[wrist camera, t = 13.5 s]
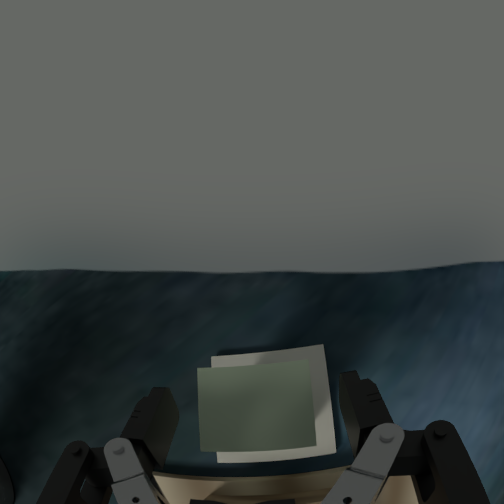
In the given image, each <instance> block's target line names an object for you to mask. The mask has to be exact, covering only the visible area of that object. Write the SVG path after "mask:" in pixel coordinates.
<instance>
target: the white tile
mask: <svg viewBox="0 0 504 504" xmlns="http://www.w3.org/2000/svg"><path fill="white" fill-rule="evenodd" d="M306 359H308V360H309V369H310V378H311V387H312V397H313V407H314V418H315V430H316V442H317V446H313V447H305V448H296V449H286V450H273V451H255V452H217V461H218V463H246V462H266V461H280V460H290V459H299V458H307V457H314V456H320V455H327V454H332V453H336V444H335V433H334V424H333V414H332V406H331V397H330V389H329V381H328V374H327V367H326V359H325V353H324V346H323V344H321V345H314V346H308V347H301V348H293V349H286V350H278V351H269V352H260V353H250V354H239V355H226V356H212V357H211V365H212V368H214V367H234V366H248V365H261V364H271V363H281V362H290V361H298V360H306Z"/></svg>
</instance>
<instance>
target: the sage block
mask: <svg viewBox="0 0 504 504" xmlns="http://www.w3.org/2000/svg"><path fill="white" fill-rule="evenodd" d="M197 373H198V408H199V430H200V448H201V451H205V452H255V451H273V450H286V449H296V448H305V447H313V446H317V442H316V430H315V418H314V407H313V397H312V387H311V378H310V369H309V360H308V359H306V360H298V361H290V362H281V363H271V364H261V365H248V366H234V367H214V368H197Z"/></svg>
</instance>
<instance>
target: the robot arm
mask: <svg viewBox="0 0 504 504" xmlns="http://www.w3.org/2000/svg"><path fill="white" fill-rule="evenodd" d="M339 403H340V409H341V412H342V416H343V419H344V423H345V426H346V430H347V434H348V437H349V441H350V445H351V448H352V452H353V456H354V462H353V463H352V465H351V466H350V467H349V468H346V469H345V470H344V472H343V473H342V474H341V476H340V477H339V479H338V480H337V482H336V483H335V484H334V486H333V487H332V489H331V490H330V491H329V493H328V494H327V495H326V497H325V498H324V499H323V501H322V502H321V503H320V504H375V502H376V501H377V499H378V497H379V495H380V494H381V492H382V490H383V488H384V486H385V484H386V482H387V480H388V479H389V477H390V476H408V475H410V476H411V479H412V482H413V486H414V489H415V493H416V496H417V500H418V503H419V504H490V502H489V499H488V497H487V494H486V492H485V489H484V487H483V485H482V483H481V480H480V478H479V476H478V474H477V471H476V469H475V467H474V465H473V463H472V461H471V459H470V456H469V454H468V452H467V450H466V448H465V446H464V444H463V442H462V440H461V438H460V436H459V434H458V433H457V431H456V429H455V427H454V425H453V424H451V423H450V422H448V421H444V420H438V421H434V422H432V423H430V424H429V425H428V426H427V427H426V429H425V430H416V431H407V430H403V429H402V428H401V427H400V426H398V425H396V424H394V422H393V420H392V418H391V416H390V414H389V412H388V409H387V407H386V405H385V403H384V401H383V400H382V397H381V394H380V393H379V390H378V388H377V386H376V384H375V383H373V382H372V381H371V380H370V379H363V380H360V378H359V376H358V373H357V371H356V370H354V371H349V372H344V373H340V377H339ZM178 421H179V411H178V408H177V405H176V403H175V401H174V398H173V396H172V393H171V391H170V389H169V388H166V387H153V388H152V390H151V392H150V394H149V396H148V397H143V398H142V399H141V400H140V401H139V402H138V403H137V405H136V407H135V409H134V412H132V414H131V418H129V420H128V422H127V424H126V426H125V428H124V430H123V432H122V434H121V436H120V438H115V439H112V440H110V441H109V442H108V443H107V444H106V445H105V447H100V448H90V447H89V446H88V445H87V444H86V443H85V442H83V441H74V442H72V443H70V444H69V445H67V447H66V448H65V450H64V452H63V453H62V455H61V457H60V459H59V461H58V463H57V464H56V466H55V468H54V470H53V472H52V474H51V476H50V477H49V479H48V481H47V483H46V485H45V487H44V489H43V491H42V493H41V495H40V497H39V499H38V501H37V503H36V504H108V503H109V500H110V497H111V494H112V491H113V492H114V494H115V497H116V500H117V502H118V504H170V503H169V502H168V500H167V499H166V497H165V495H164V494H163V492H162V490H161V488H160V486H159V485H158V483H157V481H156V479H155V477H154V476H153V474H152V473H153V470H154V469H160V470H163V467H164V463H165V460H166V457H167V454H168V451H169V448H170V445H171V442H172V439H173V436H174V433H175V430H176V427H177V424H178ZM84 479H86V481H85V483H84V485H83V488H82V490H81V492H80V488H81V486H82V484H83V481H84ZM13 501H14V492H13V486H12V482H11V479H10V476H9V474H8V471H7V469H6V467H5V465H4V463H3V461H2V460H1V458H0V504H13ZM189 504H226V503H222V502H218V501H210V500H196V499H190V503H189ZM256 504H295V498H294V499H284V500H270V501H265V502H260V503H256Z"/></svg>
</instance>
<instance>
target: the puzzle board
mask: <svg viewBox="0 0 504 504" xmlns="http://www.w3.org/2000/svg"><path fill="white" fill-rule="evenodd" d="M350 466H351V465H348V466H343V467H338V468H332V469H326V470H320V471H313V472H306V473H298V474H288V475H277V476H261V477H205V476H189V475H178V474H169V473H161V472H153V473H152V474H153V476H154V477H155V479H156V481H157V483H158V485H159V486H160V488H161V490H162V492H163V494H164V495H165V497H166V499H167V500H168V502H169V503H170V504H189V503H190V499H196V500H210V501H218V502H222V503H226V504H256V503H260V502H265V501H270V500H284V499H294V498H295V504H320V503H321V502H322V501H323V499H324V498H325V497H326V495H327V494H328V493H329V491H330V490H331V489H332V487H333V486H334V484H335V483H336V482H337V480H338V479H339V477H340V476H341V474H342V473H343V472H344V470H345V469H346V468H349V467H350ZM375 504H419V503H418V500H417V496H416V493H415V489H414V486H413V482H412V479H411V476H410V475H408V476H390V477H389V479H388V480H387V482H386V484H385V486H384V488H383V490H382V492H381V494H380V495H379V497H378V499H377V501H376V502H375Z"/></svg>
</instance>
